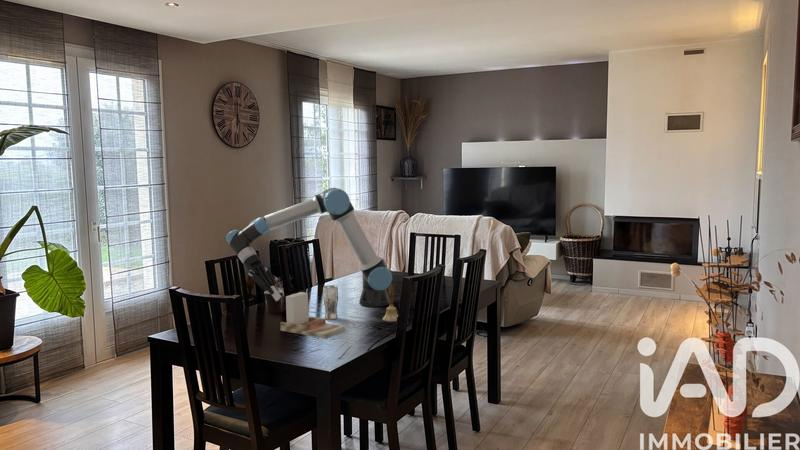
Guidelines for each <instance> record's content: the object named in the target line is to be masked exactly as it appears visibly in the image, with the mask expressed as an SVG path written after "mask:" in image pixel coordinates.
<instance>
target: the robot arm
mask: <svg viewBox="0 0 800 450" xmlns="http://www.w3.org/2000/svg"><path fill="white" fill-rule="evenodd" d="M354 212H355V208H354V206H353V204H352V203H351V199H350V197H349V195H348V193H347V192H346V191H344V190H343V189H341V188H337V187H331V188H328V189H326V190H324V191H322V192H320V193H318V194H314V195H313V197H312V198H311V199H307V200H305V201H301V202H300V203H297V204H293V205H291V206H288V207H286V208H282V209H280V210H277V211H275V212H272V213H268V214H267V215H264V216H259V217H257V218H254V219H253V218H252V220H250V221H249V223H248V225H246V227H245V228H244V229H242V230H239V229H234V230H231V231H230V232H228V233H227V234H226V237H225V238H226V239H225V240H226V242H227V243H228V244H229V247H230V249H231V250H232V251H233V252H234V253H235V255H236V256H237V257H238V258H239V260H240V261H241V263H242V264H243V266H244V267H245V269H246V271H247V270H248V271H249V272H248V273H247V277H249V278H250V279H252V280H253V282H255V283H256V285H257V286H258V287H259V288H261V289H262V290H264V292H265V291H268V292H269V293H270V294H271V295H272V296H273V298H274V299H275V300H276V301H278V300H279V299H280V298H281V295H280V294H279V293H278V290H279V289H278V288H277V287H276V286H275V285H277V281H276V279H275V277H274V276H273V273H272V271H271V267H270V266H267V267H265V265H264V264H263V263H262V259H261V258H260V256H259V255H258V254H257V252H256V251H255V250H254V248H253V246H251V244H253V243H254V242H255V241H257V240H258V239H260V238H261V237H262V236H263V235H266V233H268V232H270V231H273V230H275V229H278V228H280V227H283V226H285V225H288V224H291V223H294V222H297V221H300V220H303V219H306V218H308V217H310V216H311V217H312V216H313V215H317V214H321V215H322V214H325V213H328V215H329V217H330V218H331V220H332V221H333V222H336V223H337V224H338V227H340V229H341V231H342V233H343V234H344V236H345V238H346V240H347V242H348V243H349V246H350V247H351V249H352V250H353V252H354V254H355V256H356V258H357V260H358V261H359V263H360V265H361V266H360V272H362V290H361V294H360V297H359V305H360V306H363V307H369V308H370V307H371V308H373V307H375V308H377V307H379V308H380V307H385V306H387V305H390V298H389V293H388V292H387V289H388V288H390V285H392V281H393V275H392V272H391V270H390V269H389V268H388V266H387V263H386V260H385V259H384V258H382V257H381V256H378V255H377V253H376V252H375V250H374V248H373V246H372V245H371V242H370V241H369V239H368V238H367V235H366V233H365V232H364V231H363V228H362V227H361V225H360V223H359V221H358V220H357V217H356V216H355V214H354Z"/></svg>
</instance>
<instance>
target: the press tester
mask: <svg viewBox="0 0 800 450" xmlns="http://www.w3.org/2000/svg"><path fill="white" fill-rule="evenodd" d="M308 317H309V322H306V323H303V324H301V325H299V324H292V323H287V321H286V322H284V321H281V322H280V323H279V326H280V327H279V328H280V330H279V331H282V332H287V333H293V334H299V335H305V336H311V337H317V338H323V339H325V338H328V337H330V336H333V335H335V334H338V333H340V332H342V331H344V330H346V329H345V328H346V327H345V325H340V324H339V325H338V324H334V323H327V321H326V319H325V318H322V317H321V318H320V317H316V316H309V315H308Z"/></svg>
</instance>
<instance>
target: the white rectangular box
mask: <svg viewBox="0 0 800 450" xmlns="http://www.w3.org/2000/svg"><path fill="white" fill-rule="evenodd" d="M308 293H309V292H304V291H299V292H297V293H293V294H290V295H287V296H285V309H286V310H285V311H286V312H285V313H286V315H285V316H286V323H292V324H299V325H301V324H303V323H306V322H309V317H310V316H309V296H308V295H309V294H308ZM308 316H309V317H308Z"/></svg>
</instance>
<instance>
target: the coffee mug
mask: <svg viewBox="0 0 800 450" xmlns="http://www.w3.org/2000/svg"><path fill="white" fill-rule="evenodd" d="M277 290H278V293H279V294H280V295H281V298H280V299H279V300H278V301H276V300H275V299H274V298H273V296H272V295H271V294H270V293H269V292H268V290H267V291H265V290H264V299H265V305H266V312H267V313H268V314H270V315H275V314H279V313H281V312H282V301H283V290H282V289H277Z"/></svg>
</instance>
